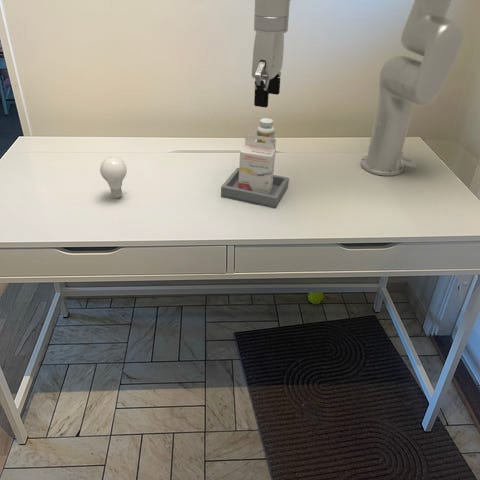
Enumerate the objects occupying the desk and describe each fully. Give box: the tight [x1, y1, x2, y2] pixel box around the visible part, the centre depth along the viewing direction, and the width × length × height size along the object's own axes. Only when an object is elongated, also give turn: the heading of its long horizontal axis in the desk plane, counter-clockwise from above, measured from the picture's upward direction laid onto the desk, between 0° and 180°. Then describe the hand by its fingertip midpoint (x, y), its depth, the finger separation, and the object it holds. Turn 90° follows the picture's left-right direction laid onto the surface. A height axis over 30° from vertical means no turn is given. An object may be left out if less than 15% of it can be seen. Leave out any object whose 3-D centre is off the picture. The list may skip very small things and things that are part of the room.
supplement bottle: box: [256, 117, 276, 143], centre depth 147 cm, size 5×5×10 cm
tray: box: [220, 167, 290, 209], centre depth 126 cm, size 15×12×3 cm
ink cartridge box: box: [238, 133, 277, 195], centre depth 122 cm, size 9×5×15 cm, turn 75°
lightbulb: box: [99, 156, 128, 199], centre depth 119 cm, size 6×6×11 cm
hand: (267, 99), depth 114 cm, fingers open, 9 cm apart
